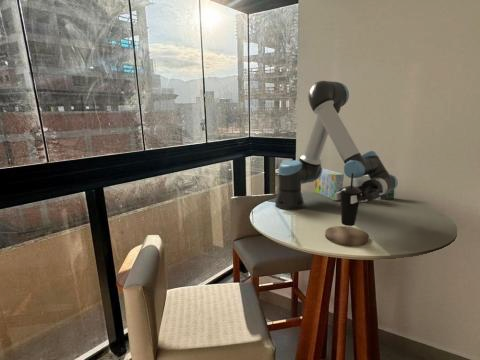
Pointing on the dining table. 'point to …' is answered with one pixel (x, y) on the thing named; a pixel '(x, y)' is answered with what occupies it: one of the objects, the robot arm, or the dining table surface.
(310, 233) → the dining table surface
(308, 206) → the dining table surface
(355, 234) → the coaster board
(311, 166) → the robot arm
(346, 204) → the drinking cup
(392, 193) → the coffee box
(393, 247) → the dining table surface
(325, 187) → the snack box
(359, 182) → the supplement tub
